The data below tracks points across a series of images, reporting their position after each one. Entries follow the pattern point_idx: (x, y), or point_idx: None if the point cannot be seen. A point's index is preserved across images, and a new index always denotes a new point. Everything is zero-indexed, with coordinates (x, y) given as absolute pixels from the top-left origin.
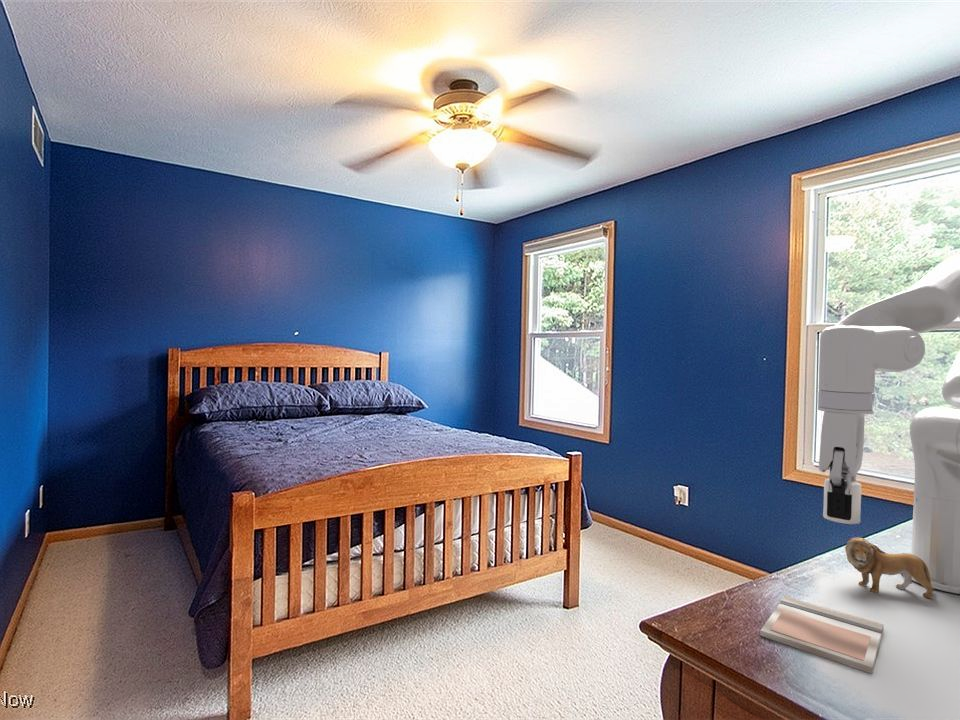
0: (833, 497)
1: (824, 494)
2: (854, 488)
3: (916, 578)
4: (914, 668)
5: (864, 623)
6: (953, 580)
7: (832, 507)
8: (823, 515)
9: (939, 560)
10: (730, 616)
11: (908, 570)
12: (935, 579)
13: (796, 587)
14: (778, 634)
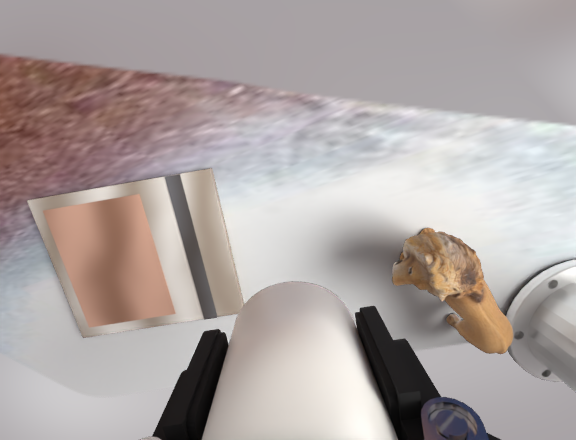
0: (155, 434)
1: (246, 359)
2: None
3: (457, 326)
4: (157, 358)
5: (219, 294)
6: (535, 350)
7: (176, 384)
8: (264, 291)
9: (566, 356)
10: (48, 131)
11: (464, 323)
12: (531, 324)
13: (301, 155)
14: (43, 225)
